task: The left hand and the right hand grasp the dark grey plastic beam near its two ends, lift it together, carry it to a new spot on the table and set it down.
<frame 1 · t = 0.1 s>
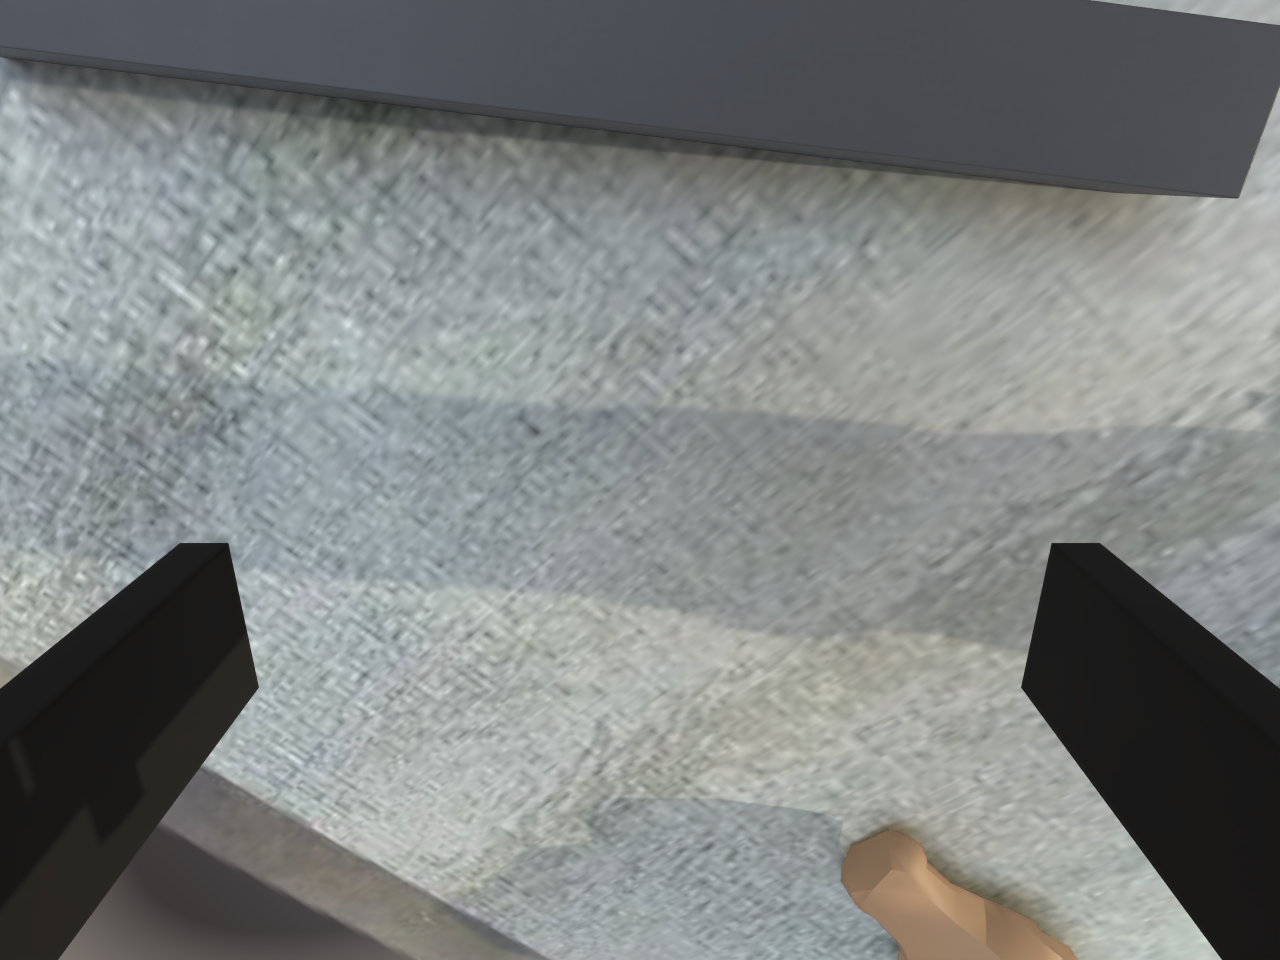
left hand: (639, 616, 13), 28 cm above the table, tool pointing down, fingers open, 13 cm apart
beam: (580, 57, 35), on the table
squash: (941, 910, 53), on the table
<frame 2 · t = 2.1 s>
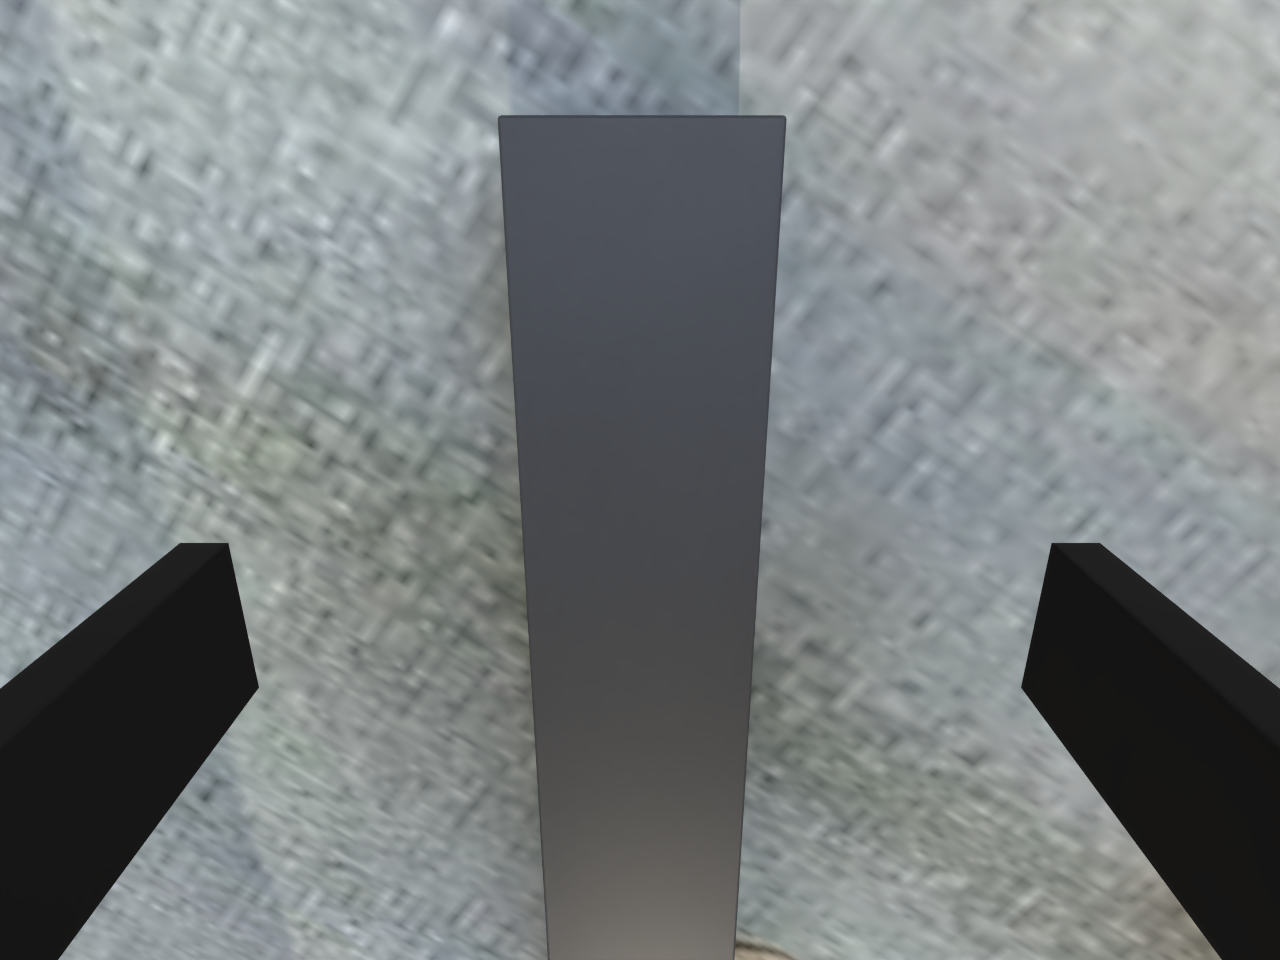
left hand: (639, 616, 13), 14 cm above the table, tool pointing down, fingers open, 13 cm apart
beam: (640, 816, 32), on the table
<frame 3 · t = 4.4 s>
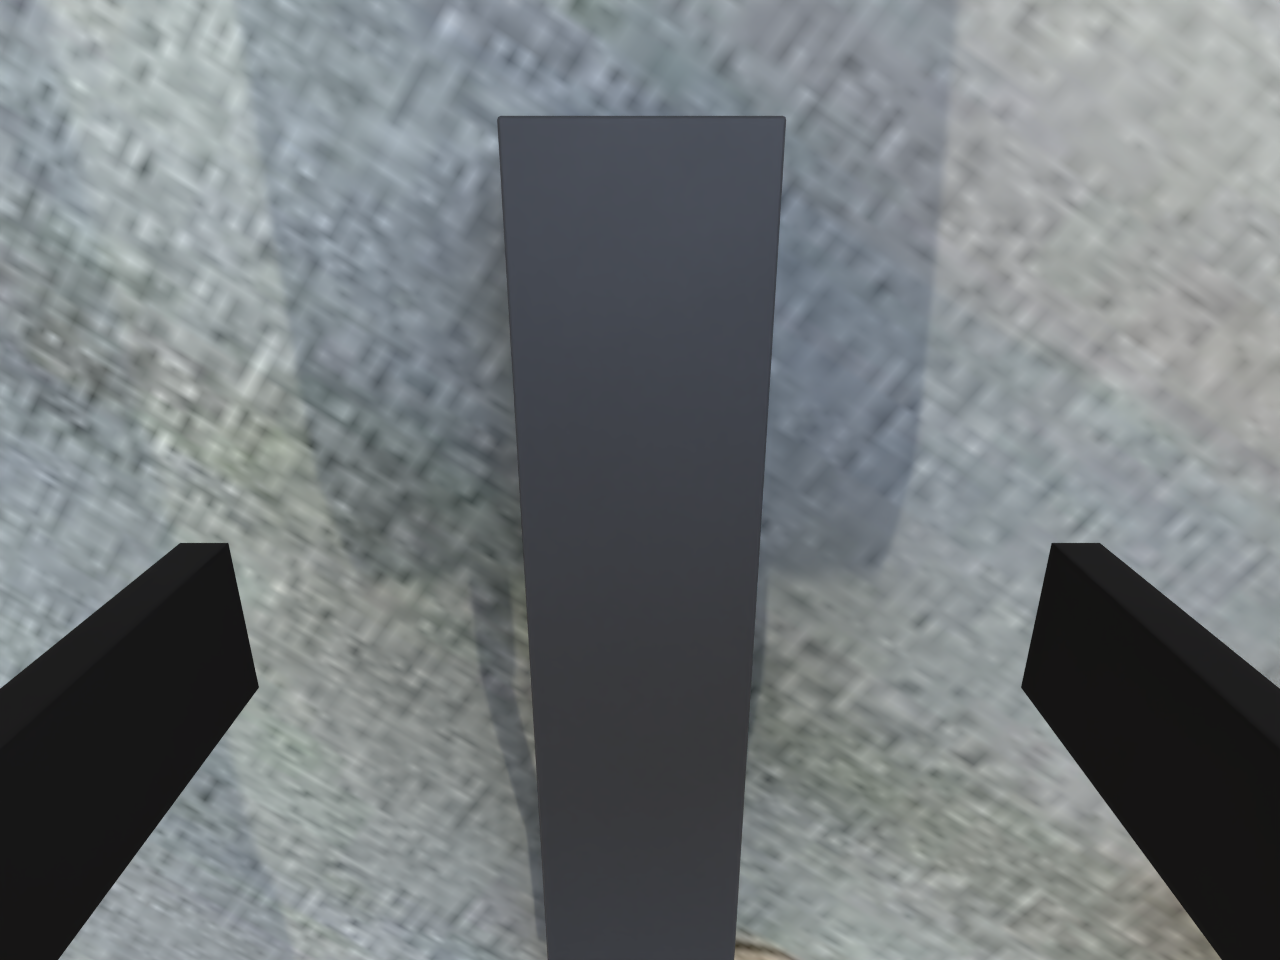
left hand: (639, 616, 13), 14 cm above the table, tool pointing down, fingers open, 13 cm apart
beam: (640, 816, 32), on the table, touching right hand
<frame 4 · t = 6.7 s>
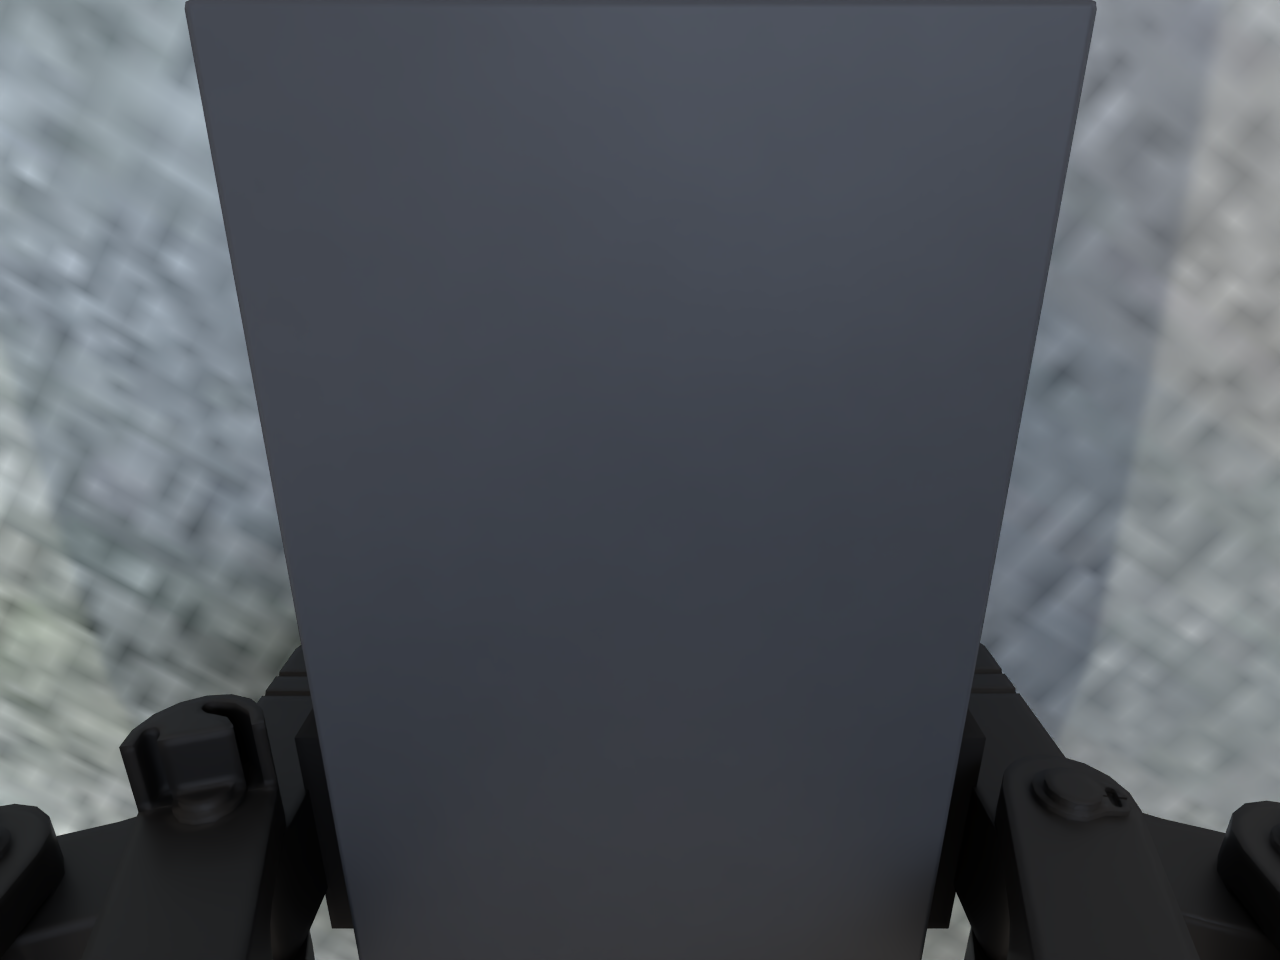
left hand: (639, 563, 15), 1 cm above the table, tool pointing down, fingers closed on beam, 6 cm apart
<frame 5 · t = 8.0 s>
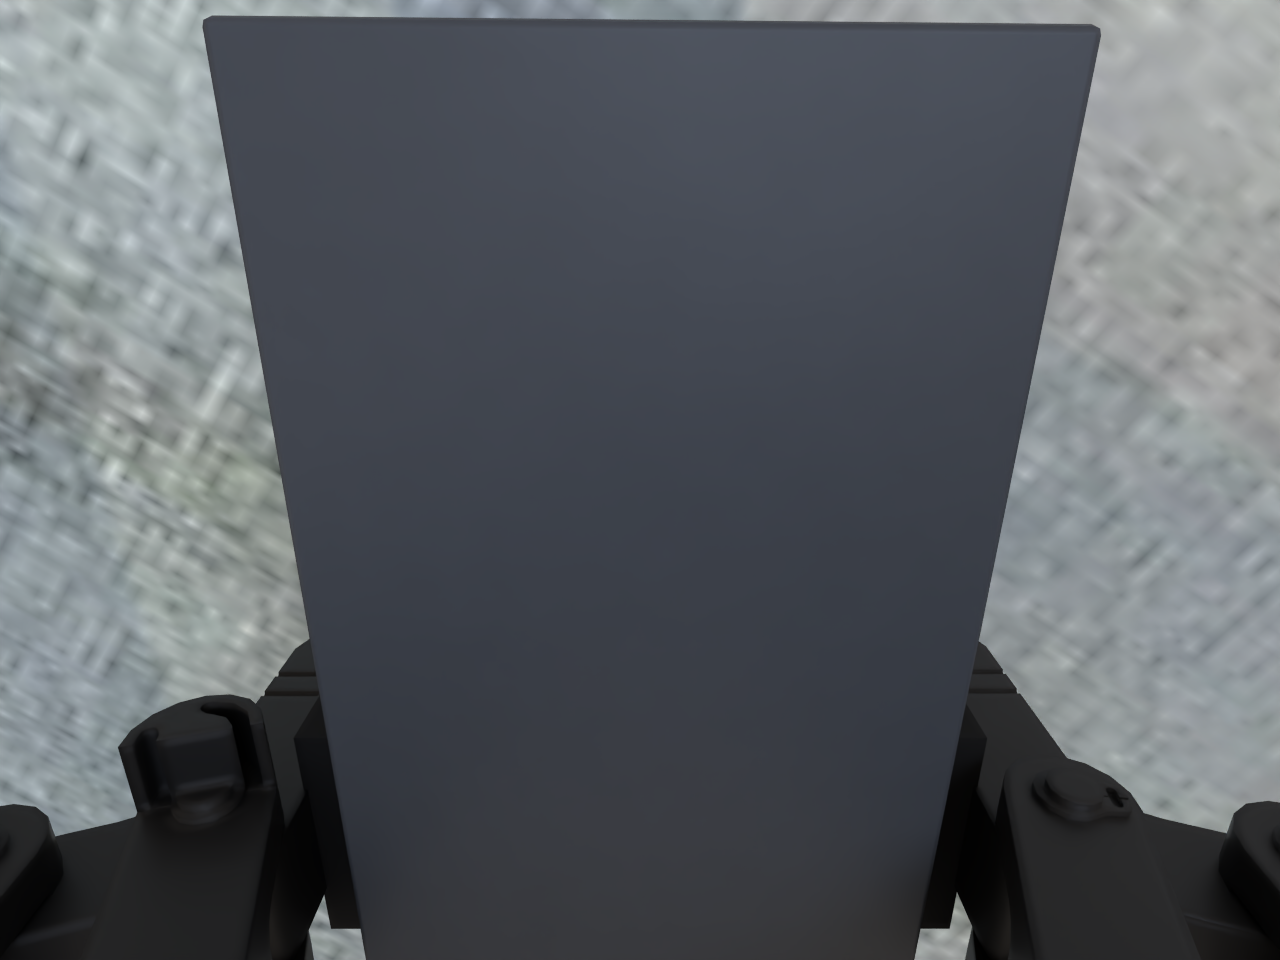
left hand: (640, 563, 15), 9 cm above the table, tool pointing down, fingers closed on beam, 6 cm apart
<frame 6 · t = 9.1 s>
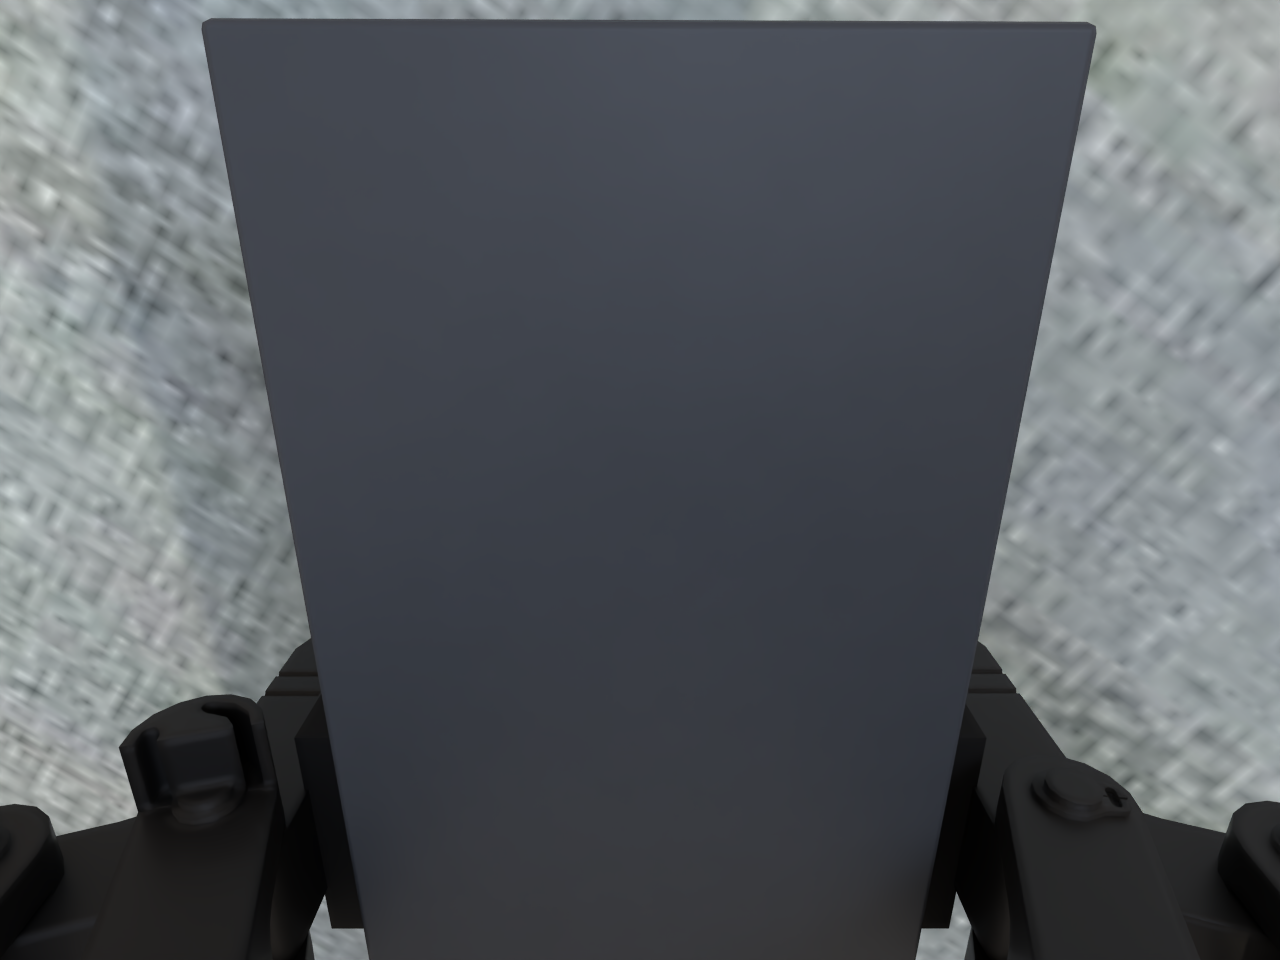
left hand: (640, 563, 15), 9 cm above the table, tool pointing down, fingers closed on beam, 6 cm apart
when the left hand's fingers open (1 cm above the table, at t = 11.6 s): beam stays where it is, on the table.
when the right hand's fingers open (3 cm above the table, at t = 11.8 s): beam stays where it is, on the table.
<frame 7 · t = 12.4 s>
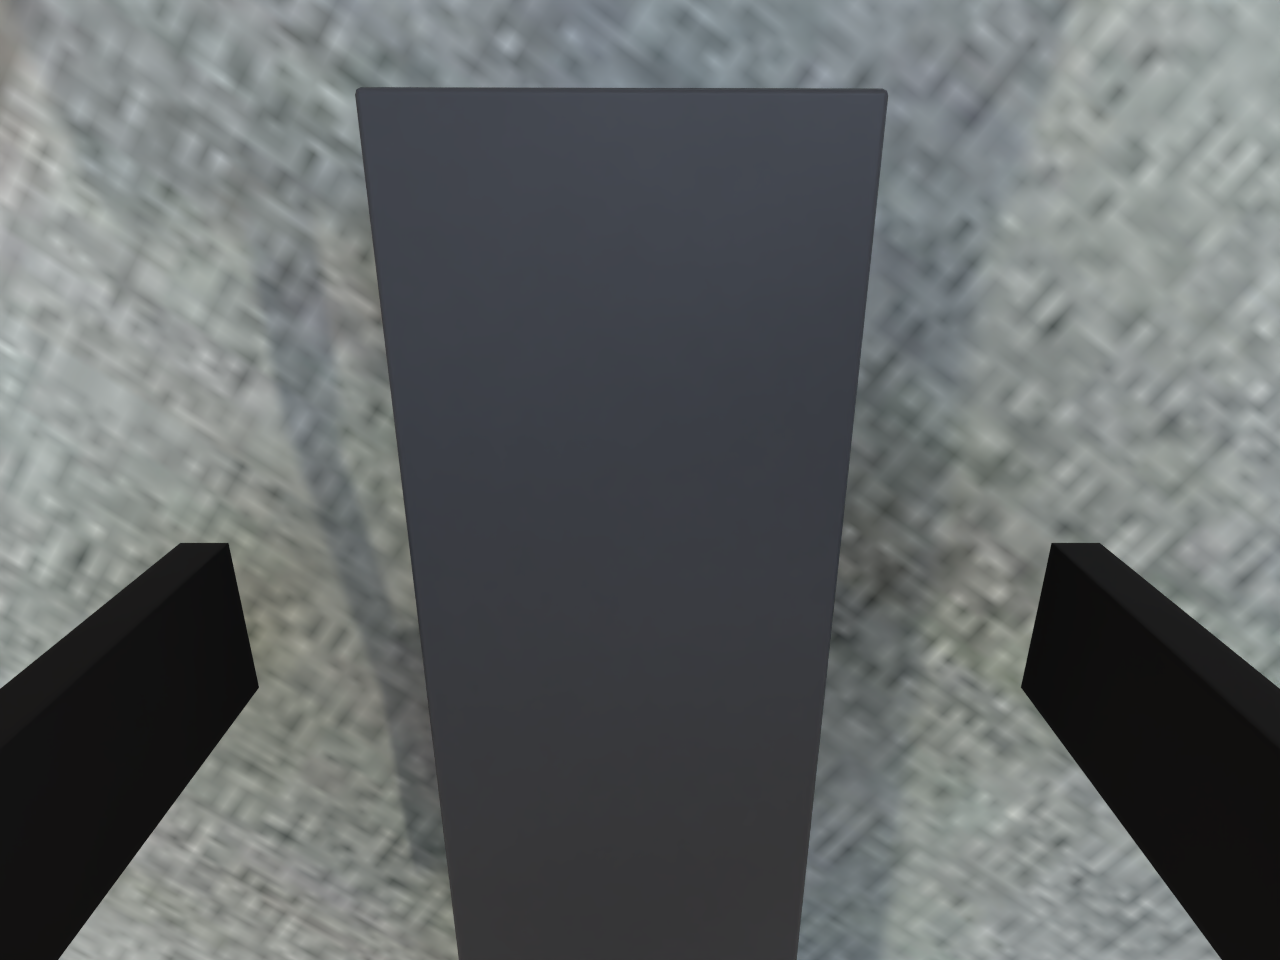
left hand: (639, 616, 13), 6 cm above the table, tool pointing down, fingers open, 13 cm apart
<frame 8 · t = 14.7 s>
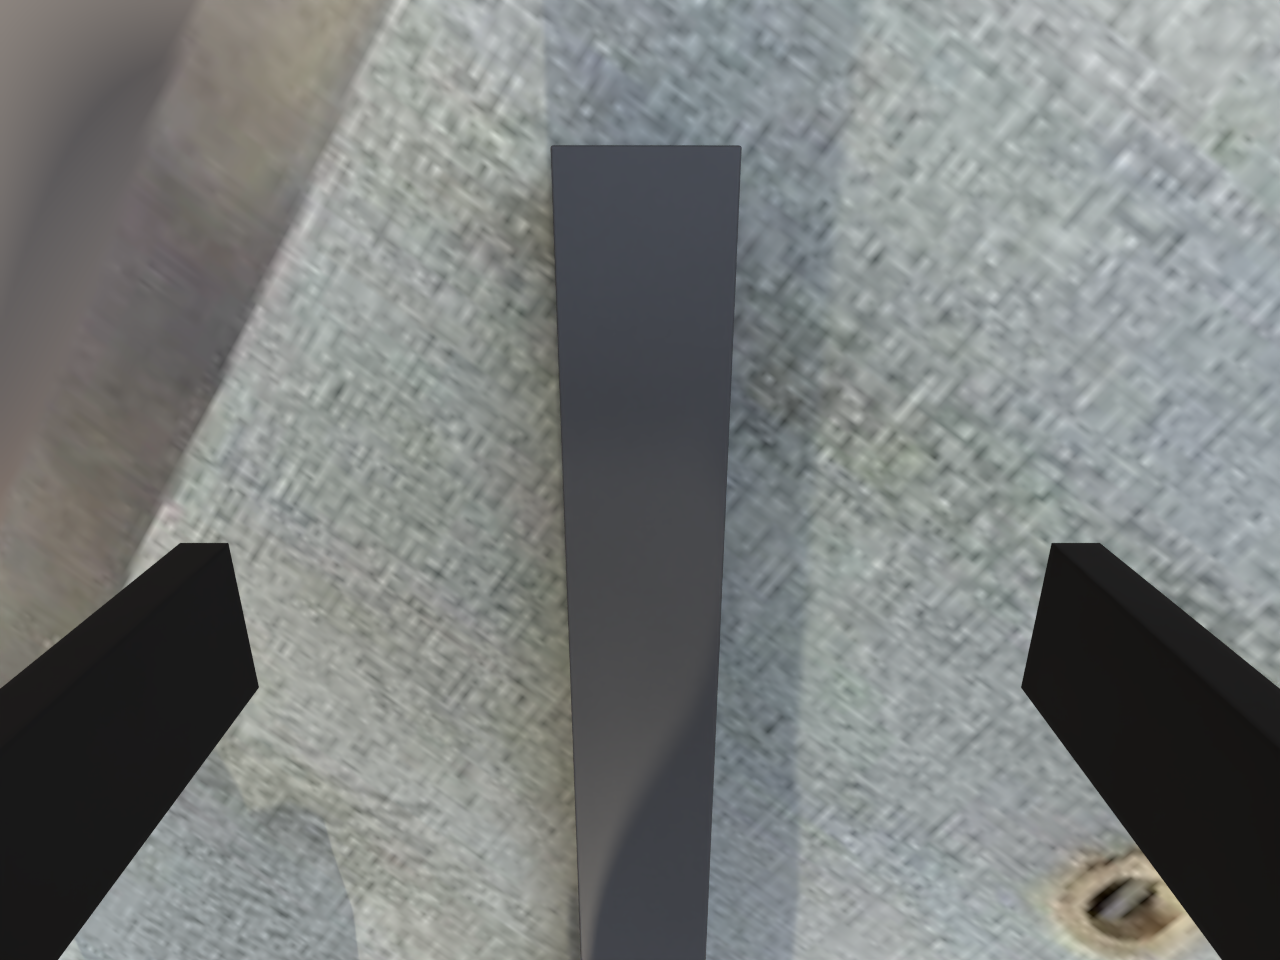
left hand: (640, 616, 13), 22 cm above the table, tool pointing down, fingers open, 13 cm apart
beam: (643, 695, 40), on the table
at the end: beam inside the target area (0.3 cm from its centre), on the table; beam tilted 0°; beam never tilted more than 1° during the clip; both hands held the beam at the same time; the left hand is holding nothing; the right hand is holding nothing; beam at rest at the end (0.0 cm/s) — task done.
